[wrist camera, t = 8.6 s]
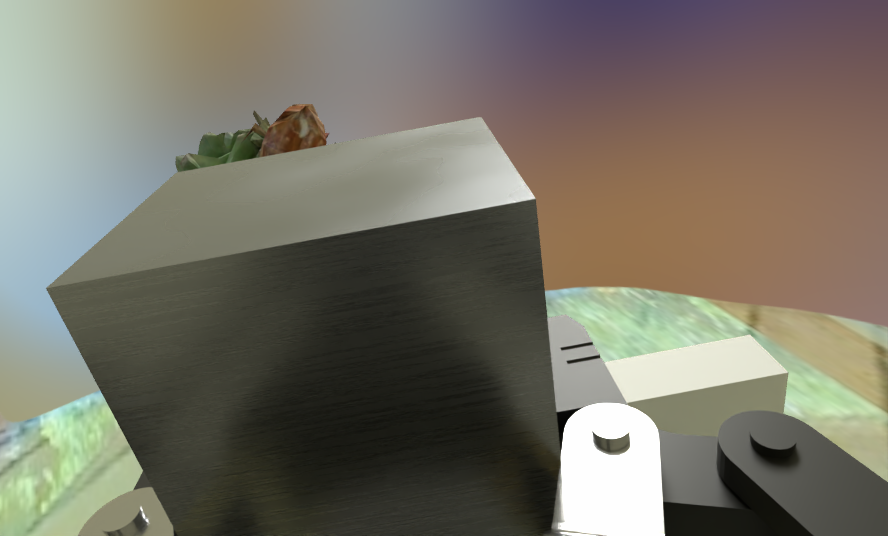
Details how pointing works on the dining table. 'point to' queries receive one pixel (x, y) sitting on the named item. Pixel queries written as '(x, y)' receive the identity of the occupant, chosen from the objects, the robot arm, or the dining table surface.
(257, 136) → the potted plant
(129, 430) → the steel block
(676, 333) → the dining table surface
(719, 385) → the vise
